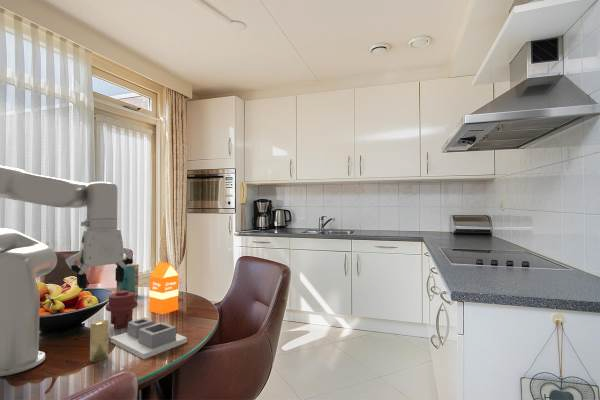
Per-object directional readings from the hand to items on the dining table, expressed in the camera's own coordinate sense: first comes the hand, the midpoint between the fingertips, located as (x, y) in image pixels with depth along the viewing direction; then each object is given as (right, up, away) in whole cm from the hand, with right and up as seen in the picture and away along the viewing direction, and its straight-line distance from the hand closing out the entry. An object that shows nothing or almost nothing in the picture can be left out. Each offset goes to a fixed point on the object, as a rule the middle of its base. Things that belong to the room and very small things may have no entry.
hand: (101, 284), depth 90 cm
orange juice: (0, -22, +42) cm, 48 cm away
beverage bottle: (-22, -23, +52) cm, 61 cm away
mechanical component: (-8, -22, +24) cm, 34 cm away
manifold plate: (+9, -21, +10) cm, 25 cm away
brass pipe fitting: (0, -21, -1) cm, 21 cm away
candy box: (-28, -23, +64) cm, 74 cm away
